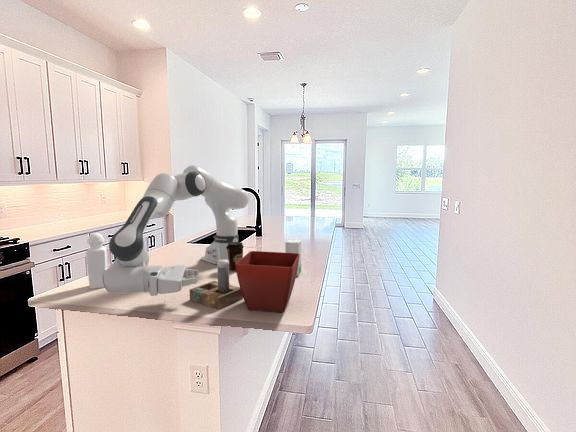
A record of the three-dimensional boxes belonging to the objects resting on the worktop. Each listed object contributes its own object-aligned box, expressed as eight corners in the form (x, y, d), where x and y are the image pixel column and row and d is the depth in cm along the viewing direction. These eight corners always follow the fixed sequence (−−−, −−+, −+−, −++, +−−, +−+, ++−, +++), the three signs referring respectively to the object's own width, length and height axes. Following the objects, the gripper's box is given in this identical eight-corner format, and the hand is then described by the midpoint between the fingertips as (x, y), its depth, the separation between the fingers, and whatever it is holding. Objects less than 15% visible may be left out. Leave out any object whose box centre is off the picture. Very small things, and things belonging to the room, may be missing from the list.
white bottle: (90, 284, 134) (87, 232, 131) (108, 282, 136) (105, 231, 134) (88, 289, 128) (84, 234, 125) (107, 287, 130) (103, 233, 128)
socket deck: (189, 300, 118) (188, 288, 117) (214, 290, 128) (213, 280, 127) (218, 309, 110) (218, 297, 109) (242, 298, 120) (242, 287, 119)
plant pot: (292, 318, 103) (292, 266, 101) (234, 313, 107) (234, 263, 105) (299, 296, 122) (300, 253, 120) (250, 293, 125) (250, 250, 123)
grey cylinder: (215, 299, 116) (215, 261, 115) (223, 295, 120) (223, 258, 118) (223, 301, 114) (223, 262, 112) (231, 298, 117) (231, 260, 116)
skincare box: (298, 276, 147) (299, 243, 145) (284, 275, 148) (284, 242, 146) (301, 271, 155) (301, 239, 153) (288, 270, 156) (288, 238, 154)
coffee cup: (247, 267, 160) (247, 242, 159) (239, 272, 152) (239, 245, 151) (231, 266, 163) (231, 240, 162) (223, 270, 155) (222, 244, 154)
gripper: (161, 278, 121) (199, 276, 124) (150, 298, 101) (196, 295, 104) (160, 262, 120) (199, 260, 123) (149, 278, 100) (195, 275, 103)
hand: (197, 276), depth 113 cm, fingers open, 8 cm apart
